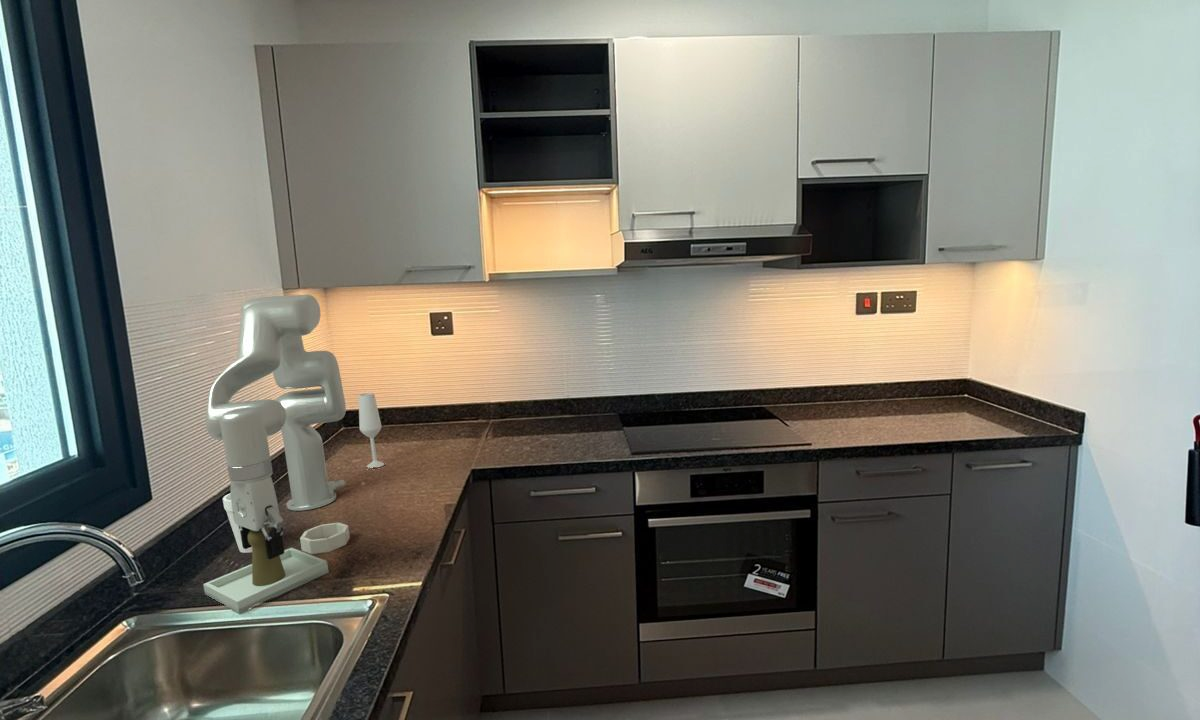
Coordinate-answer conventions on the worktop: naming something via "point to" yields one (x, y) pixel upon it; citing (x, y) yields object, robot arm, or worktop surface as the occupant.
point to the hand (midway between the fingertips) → (263, 551)
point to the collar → (317, 542)
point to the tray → (244, 594)
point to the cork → (264, 561)
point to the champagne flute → (369, 422)
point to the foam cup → (234, 526)
